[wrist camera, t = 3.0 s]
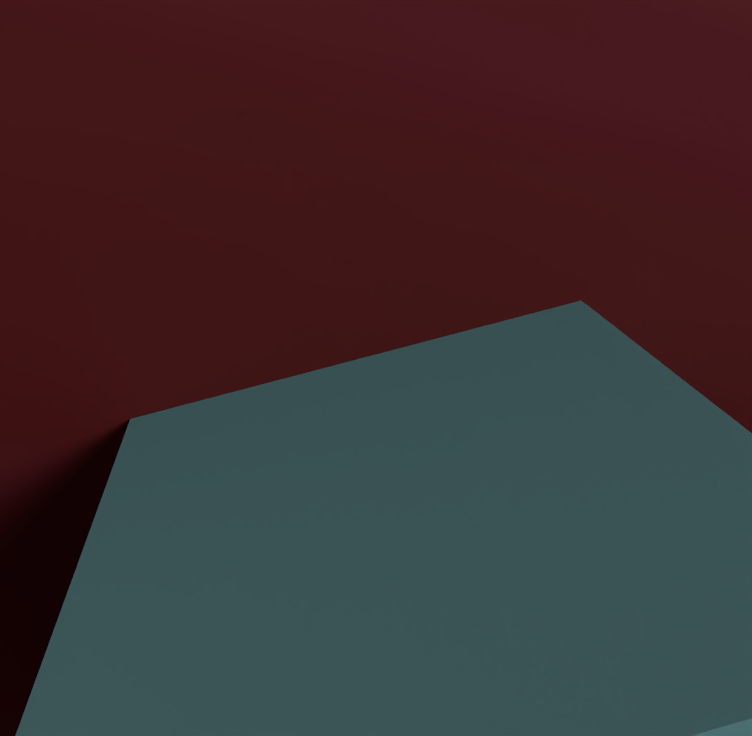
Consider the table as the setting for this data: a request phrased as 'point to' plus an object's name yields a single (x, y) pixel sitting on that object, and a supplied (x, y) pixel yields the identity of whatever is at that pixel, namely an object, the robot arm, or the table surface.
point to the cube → (421, 553)
